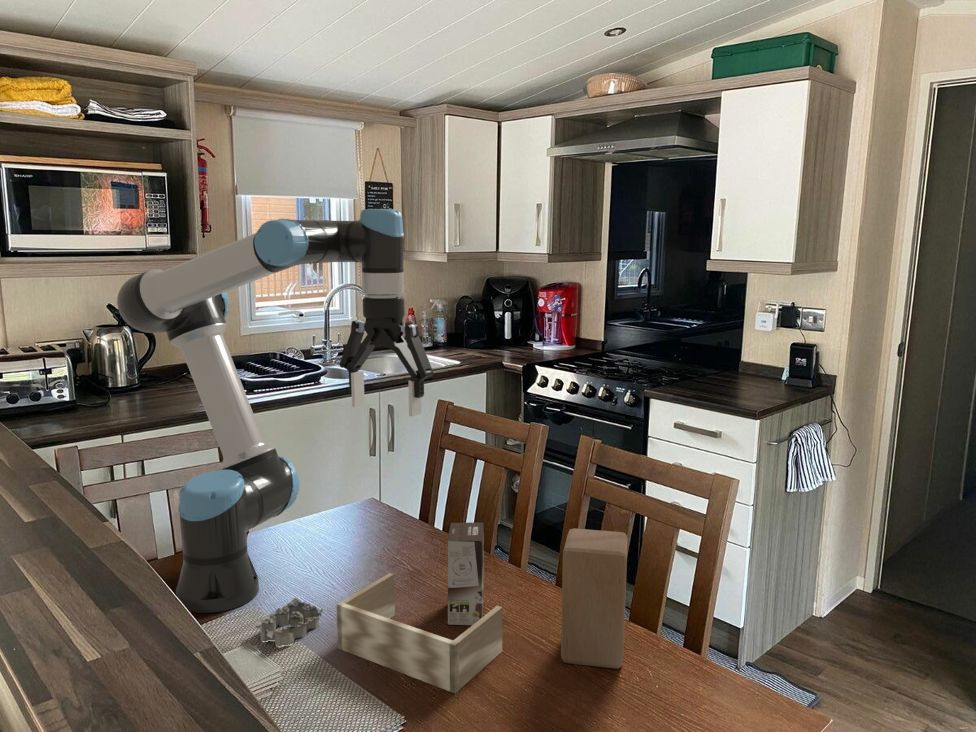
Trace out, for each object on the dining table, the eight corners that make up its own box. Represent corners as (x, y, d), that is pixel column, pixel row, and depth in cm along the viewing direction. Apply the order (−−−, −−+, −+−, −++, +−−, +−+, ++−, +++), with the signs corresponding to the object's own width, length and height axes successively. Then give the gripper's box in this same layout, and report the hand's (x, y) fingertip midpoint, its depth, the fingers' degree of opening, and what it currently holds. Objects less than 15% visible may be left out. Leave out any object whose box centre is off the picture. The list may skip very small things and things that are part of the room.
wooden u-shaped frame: (338, 648, 129) (336, 604, 127) (390, 613, 140) (389, 573, 139) (455, 693, 116) (454, 645, 115) (502, 651, 128) (502, 607, 126)
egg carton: (283, 653, 128) (281, 631, 127) (251, 640, 131) (250, 619, 131) (327, 625, 137) (326, 604, 136) (296, 614, 140) (295, 593, 140)
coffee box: (482, 626, 136) (482, 541, 133) (446, 625, 136) (446, 540, 133) (484, 601, 145) (484, 521, 142) (450, 601, 145) (450, 521, 142)
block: (622, 671, 122) (626, 554, 118) (560, 664, 124) (562, 549, 120) (623, 639, 132) (627, 530, 128) (566, 633, 134) (568, 525, 130)
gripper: (451, 297, 134) (452, 414, 138) (345, 291, 147) (349, 398, 151) (426, 301, 128) (428, 423, 132) (318, 294, 141) (322, 405, 145)
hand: (386, 410), depth 141 cm, fingers open, 13 cm apart
